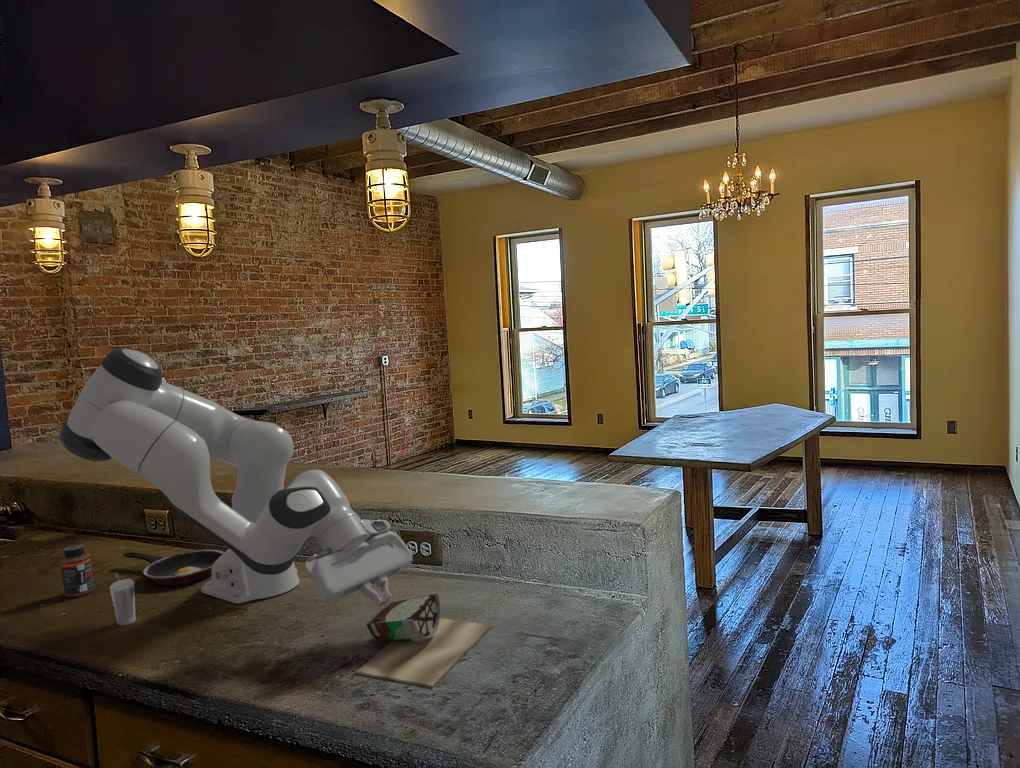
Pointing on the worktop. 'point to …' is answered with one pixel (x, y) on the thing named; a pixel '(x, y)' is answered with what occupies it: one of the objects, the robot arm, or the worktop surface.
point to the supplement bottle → (76, 572)
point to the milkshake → (124, 600)
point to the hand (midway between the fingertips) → (385, 602)
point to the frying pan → (178, 566)
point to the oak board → (425, 654)
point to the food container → (407, 619)
